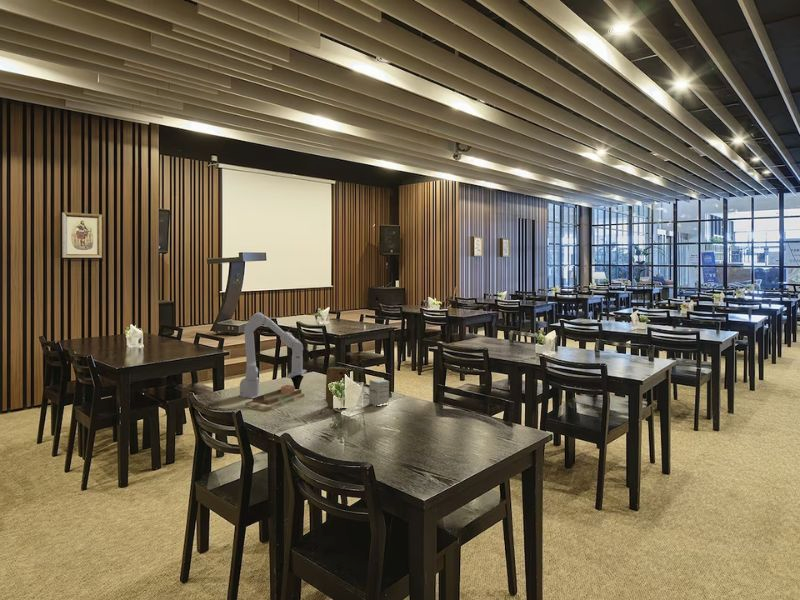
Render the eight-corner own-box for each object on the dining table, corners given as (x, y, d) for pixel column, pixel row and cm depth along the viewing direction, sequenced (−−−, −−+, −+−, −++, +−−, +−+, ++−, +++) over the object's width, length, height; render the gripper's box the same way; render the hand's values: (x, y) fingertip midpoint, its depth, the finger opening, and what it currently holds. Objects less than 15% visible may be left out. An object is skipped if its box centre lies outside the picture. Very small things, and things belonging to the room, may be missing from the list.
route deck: (245, 407, 248) (245, 398, 248) (283, 393, 274) (283, 386, 274) (267, 411, 242) (268, 402, 242) (304, 397, 268) (304, 390, 268)
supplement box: (368, 404, 259) (368, 379, 258) (379, 401, 264) (380, 377, 263) (377, 407, 253) (378, 382, 252) (388, 405, 258) (389, 380, 257)
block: (324, 407, 251) (324, 367, 250) (333, 404, 257) (334, 364, 256) (341, 411, 245) (342, 370, 244) (351, 407, 252) (351, 367, 250)
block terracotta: (280, 394, 265) (280, 386, 265) (286, 392, 270) (287, 384, 270) (288, 395, 263) (288, 388, 263) (294, 393, 268) (294, 386, 268)
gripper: (294, 367, 264) (294, 392, 265) (311, 362, 277) (310, 387, 278) (283, 365, 267) (283, 391, 268) (300, 361, 280) (300, 385, 281)
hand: (296, 389), depth 274 cm, fingers closed
